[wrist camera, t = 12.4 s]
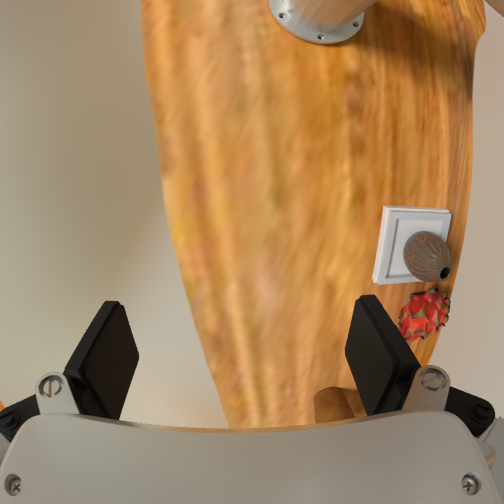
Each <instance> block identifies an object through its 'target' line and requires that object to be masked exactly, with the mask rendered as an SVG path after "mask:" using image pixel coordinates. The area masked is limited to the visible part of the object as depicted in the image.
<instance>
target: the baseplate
mask: <svg viewBox="0 0 504 504" xmlns="http://www.w3.org/2000/svg"><path fill="white" fill-rule="evenodd" d="M451 215H452V214H450V213H449V210H447V209H445V208H430V207H410V206H385V205H384V206H383V214H382V222H381V229H380V235H379V242H378V248H377V254H376V260H375V265H374V271H373V276H372V280H373V281H374V283H378V284H379V285H383V284H396V283H408V282H420V281H422V280H419V279H418V278H416V277H415V276H413V275H412V274H411V273H410V271H409V270H408V269H407V267H406V265H405V262H404V259H403V249H404V245H405V243H406V241H407V240H408V238H409V237H410V236H411V235H413V234H415V233H416V232H419V231H429V232H432V233H434V234H436V235H438V236H439V237H440V238H442V239H443V240H444V242H445V243H446V240H447V235H448V230H449V225H450V220H451Z"/></svg>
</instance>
